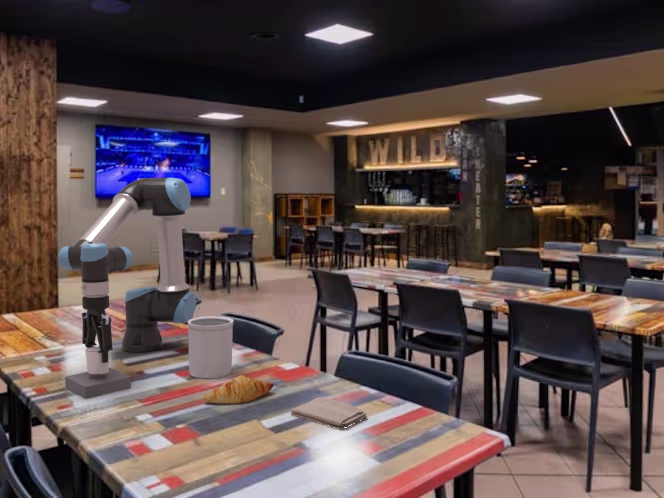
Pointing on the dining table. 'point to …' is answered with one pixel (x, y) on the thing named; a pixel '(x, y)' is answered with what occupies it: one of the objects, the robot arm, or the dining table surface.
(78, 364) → the dining table surface
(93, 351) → the shot glass
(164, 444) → the dining table surface
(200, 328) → the utensil holder
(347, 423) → the washcloth
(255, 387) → the croissant
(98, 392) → the block
